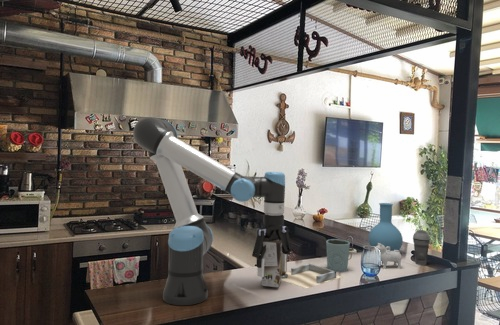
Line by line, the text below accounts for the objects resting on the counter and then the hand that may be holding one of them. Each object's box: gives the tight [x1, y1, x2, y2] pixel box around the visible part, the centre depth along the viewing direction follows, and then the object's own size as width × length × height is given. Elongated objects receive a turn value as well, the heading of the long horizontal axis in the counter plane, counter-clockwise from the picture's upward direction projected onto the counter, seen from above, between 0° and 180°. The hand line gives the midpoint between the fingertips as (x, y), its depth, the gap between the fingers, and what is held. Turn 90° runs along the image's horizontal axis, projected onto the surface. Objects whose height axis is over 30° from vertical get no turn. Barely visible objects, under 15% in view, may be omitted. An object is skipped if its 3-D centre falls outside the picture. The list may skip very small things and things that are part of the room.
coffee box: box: [261, 238, 282, 288], centre depth 144 cm, size 9×6×16 cm
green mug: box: [325, 238, 351, 273], centre depth 169 cm, size 10×10×12 cm
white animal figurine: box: [375, 243, 403, 270], centre depth 173 cm, size 5×13×11 cm, turn 95°
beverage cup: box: [412, 219, 431, 266], centre depth 179 cm, size 7×7×20 cm
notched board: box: [281, 263, 343, 289], centre depth 155 cm, size 22×18×4 cm
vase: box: [368, 202, 403, 251], centre depth 200 cm, size 16×16×25 cm
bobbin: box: [281, 254, 289, 279], centre depth 154 cm, size 5×5×9 cm
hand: (271, 273), depth 144 cm, fingers closed on coffee box, 11 cm apart
